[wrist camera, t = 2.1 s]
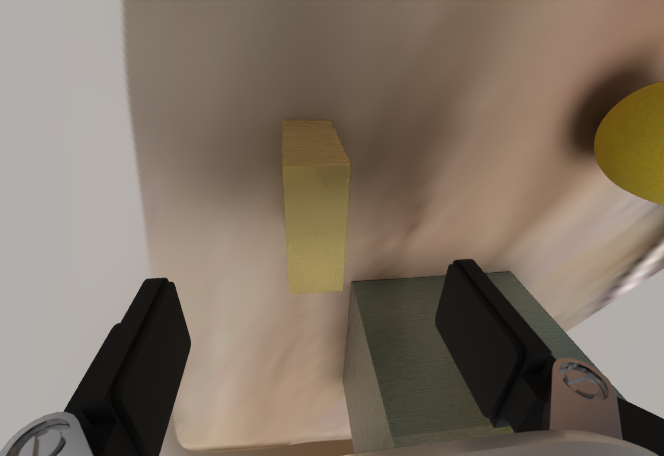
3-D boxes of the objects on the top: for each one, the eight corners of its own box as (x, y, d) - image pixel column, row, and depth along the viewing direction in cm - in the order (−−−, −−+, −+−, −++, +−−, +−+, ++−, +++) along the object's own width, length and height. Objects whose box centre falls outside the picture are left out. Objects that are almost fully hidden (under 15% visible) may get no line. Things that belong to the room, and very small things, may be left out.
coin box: (351, 281, 22) (398, 464, 13) (510, 271, 24) (652, 429, 15) (343, 381, 29) (370, 549, 20) (468, 368, 30) (548, 520, 21)
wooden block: (282, 120, 16) (281, 166, 11) (330, 120, 16) (351, 164, 11) (287, 222, 19) (289, 294, 14) (327, 221, 19) (342, 290, 14)
